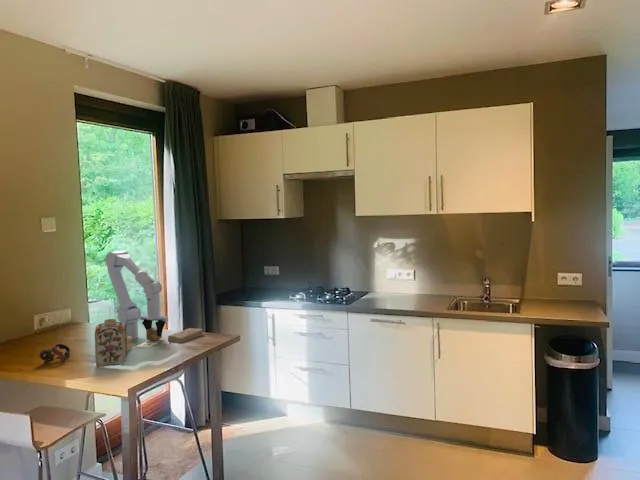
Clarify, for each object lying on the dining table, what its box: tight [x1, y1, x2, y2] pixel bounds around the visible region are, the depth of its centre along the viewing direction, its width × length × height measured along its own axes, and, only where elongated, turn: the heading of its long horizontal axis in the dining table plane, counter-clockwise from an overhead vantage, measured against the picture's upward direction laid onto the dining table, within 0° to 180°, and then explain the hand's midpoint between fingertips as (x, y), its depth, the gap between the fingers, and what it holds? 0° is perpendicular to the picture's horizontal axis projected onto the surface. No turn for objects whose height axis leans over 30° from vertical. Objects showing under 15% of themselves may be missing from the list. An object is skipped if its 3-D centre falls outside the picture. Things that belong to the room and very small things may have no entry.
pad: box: [143, 337, 165, 344], centre depth 245 cm, size 7×7×1 cm
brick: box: [167, 327, 204, 344], centre depth 249 cm, size 17×8×5 cm, turn 153°
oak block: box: [127, 336, 134, 351], centre depth 232 cm, size 5×5×5 cm
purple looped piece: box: [39, 343, 71, 364], centre depth 218 cm, size 12×10×8 cm
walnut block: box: [145, 326, 163, 341], centre depth 245 cm, size 5×5×5 cm
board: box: [127, 341, 158, 352], centre depth 238 cm, size 14×24×1 cm, turn 162°
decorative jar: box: [94, 318, 128, 368], centre depth 217 cm, size 12×12×18 cm
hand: (154, 335), depth 245 cm, fingers closed on walnut block, 5 cm apart
